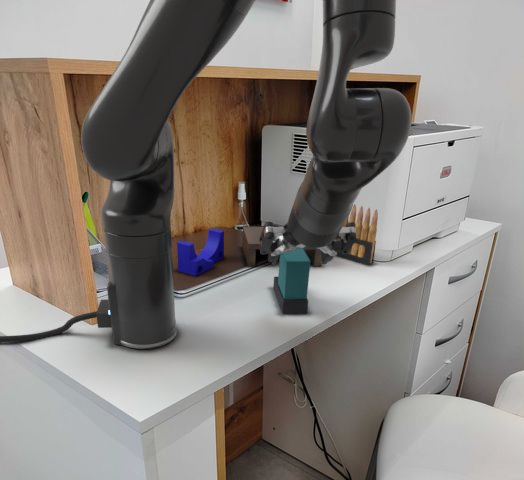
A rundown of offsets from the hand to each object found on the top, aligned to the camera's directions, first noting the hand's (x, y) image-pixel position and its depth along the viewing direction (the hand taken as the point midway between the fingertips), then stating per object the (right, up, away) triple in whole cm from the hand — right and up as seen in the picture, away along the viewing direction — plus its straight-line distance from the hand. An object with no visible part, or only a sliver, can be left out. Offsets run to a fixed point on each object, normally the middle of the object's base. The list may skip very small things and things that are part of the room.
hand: (298, 259), depth 83 cm
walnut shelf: (-2, +6, +28) cm, 29 cm away
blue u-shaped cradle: (-18, +3, +22) cm, 29 cm away
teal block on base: (-1, -6, +8) cm, 10 cm away
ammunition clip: (+14, +5, +30) cm, 33 cm away
